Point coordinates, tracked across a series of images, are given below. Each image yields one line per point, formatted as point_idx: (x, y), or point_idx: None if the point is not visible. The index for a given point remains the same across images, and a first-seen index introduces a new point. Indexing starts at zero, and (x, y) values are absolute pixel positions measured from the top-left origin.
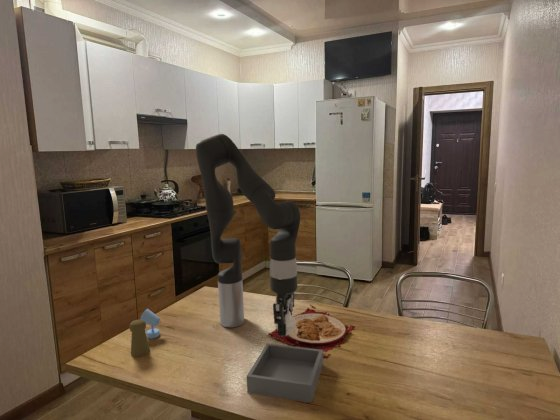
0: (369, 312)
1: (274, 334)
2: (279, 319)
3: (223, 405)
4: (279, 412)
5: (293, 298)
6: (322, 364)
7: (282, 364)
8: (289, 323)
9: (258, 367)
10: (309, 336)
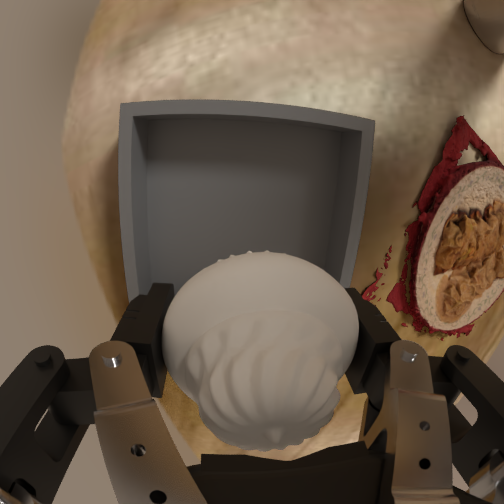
0: (496, 343)
1: (462, 137)
2: (55, 410)
3: (83, 74)
4: (89, 229)
5: (455, 454)
6: None
7: (301, 187)
8: (193, 400)
9: (218, 116)
10: (446, 251)
